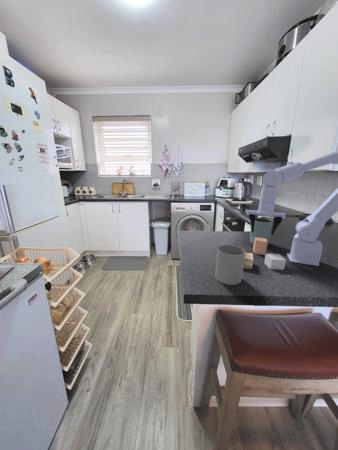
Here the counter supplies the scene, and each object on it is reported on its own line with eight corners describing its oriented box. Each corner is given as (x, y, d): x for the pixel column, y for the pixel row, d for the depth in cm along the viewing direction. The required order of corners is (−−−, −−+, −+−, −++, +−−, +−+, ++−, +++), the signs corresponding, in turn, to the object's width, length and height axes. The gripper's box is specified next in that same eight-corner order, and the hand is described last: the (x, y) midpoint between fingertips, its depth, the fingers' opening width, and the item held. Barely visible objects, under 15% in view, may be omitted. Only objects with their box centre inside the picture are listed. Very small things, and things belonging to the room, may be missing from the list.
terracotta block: (263, 251, 85) (266, 238, 83) (265, 255, 81) (267, 242, 79) (253, 249, 86) (254, 237, 85) (253, 253, 82) (255, 240, 81)
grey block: (277, 263, 74) (279, 254, 73) (283, 270, 69) (286, 260, 68) (264, 262, 74) (265, 253, 73) (269, 269, 69) (271, 259, 68)
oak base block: (251, 262, 74) (252, 253, 73) (251, 269, 68) (253, 259, 67) (234, 260, 76) (236, 250, 75) (234, 266, 70) (235, 257, 69)
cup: (221, 268, 68) (224, 242, 66) (244, 276, 63) (248, 249, 61) (210, 278, 62) (213, 250, 59) (235, 288, 57) (239, 257, 54)
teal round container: (264, 248, 88) (268, 223, 85) (243, 242, 96) (247, 218, 92) (273, 243, 95) (277, 220, 91) (253, 237, 102) (256, 216, 99)
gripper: (285, 201, 79) (279, 232, 83) (247, 198, 83) (243, 228, 87) (289, 203, 72) (282, 237, 76) (248, 201, 77) (244, 232, 81)
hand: (262, 232), depth 81 cm, fingers open, 7 cm apart
